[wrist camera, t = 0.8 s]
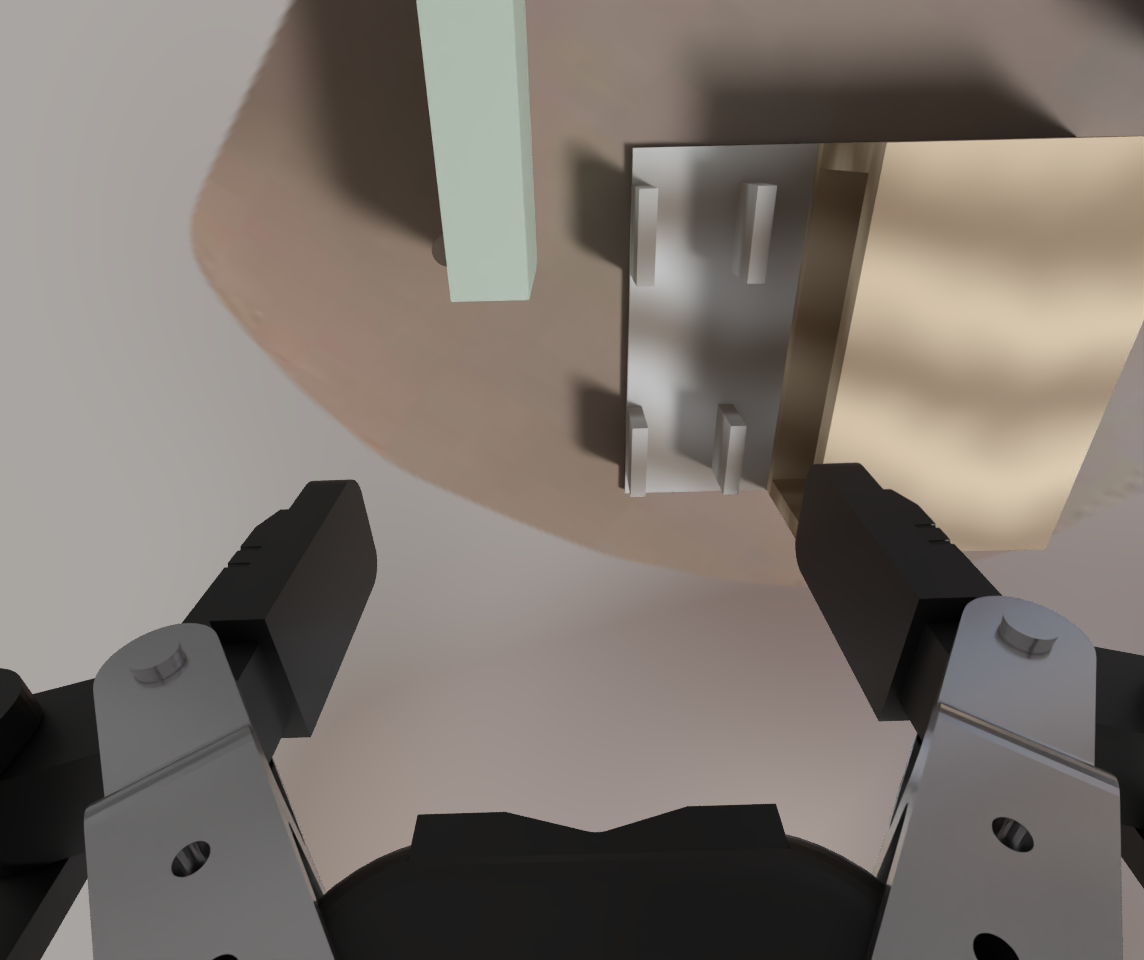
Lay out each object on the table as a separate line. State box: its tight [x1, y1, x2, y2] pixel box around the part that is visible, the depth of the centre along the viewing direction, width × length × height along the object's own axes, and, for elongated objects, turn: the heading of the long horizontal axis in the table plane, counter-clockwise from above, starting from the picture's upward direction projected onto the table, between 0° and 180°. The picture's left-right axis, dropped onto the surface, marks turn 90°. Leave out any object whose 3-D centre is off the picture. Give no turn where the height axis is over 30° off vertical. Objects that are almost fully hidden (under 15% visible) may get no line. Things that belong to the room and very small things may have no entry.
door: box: [416, 0, 537, 302], centre depth 24 cm, size 12×4×8 cm, turn 1°
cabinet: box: [625, 136, 1144, 551], centre depth 29 cm, size 18×20×7 cm
